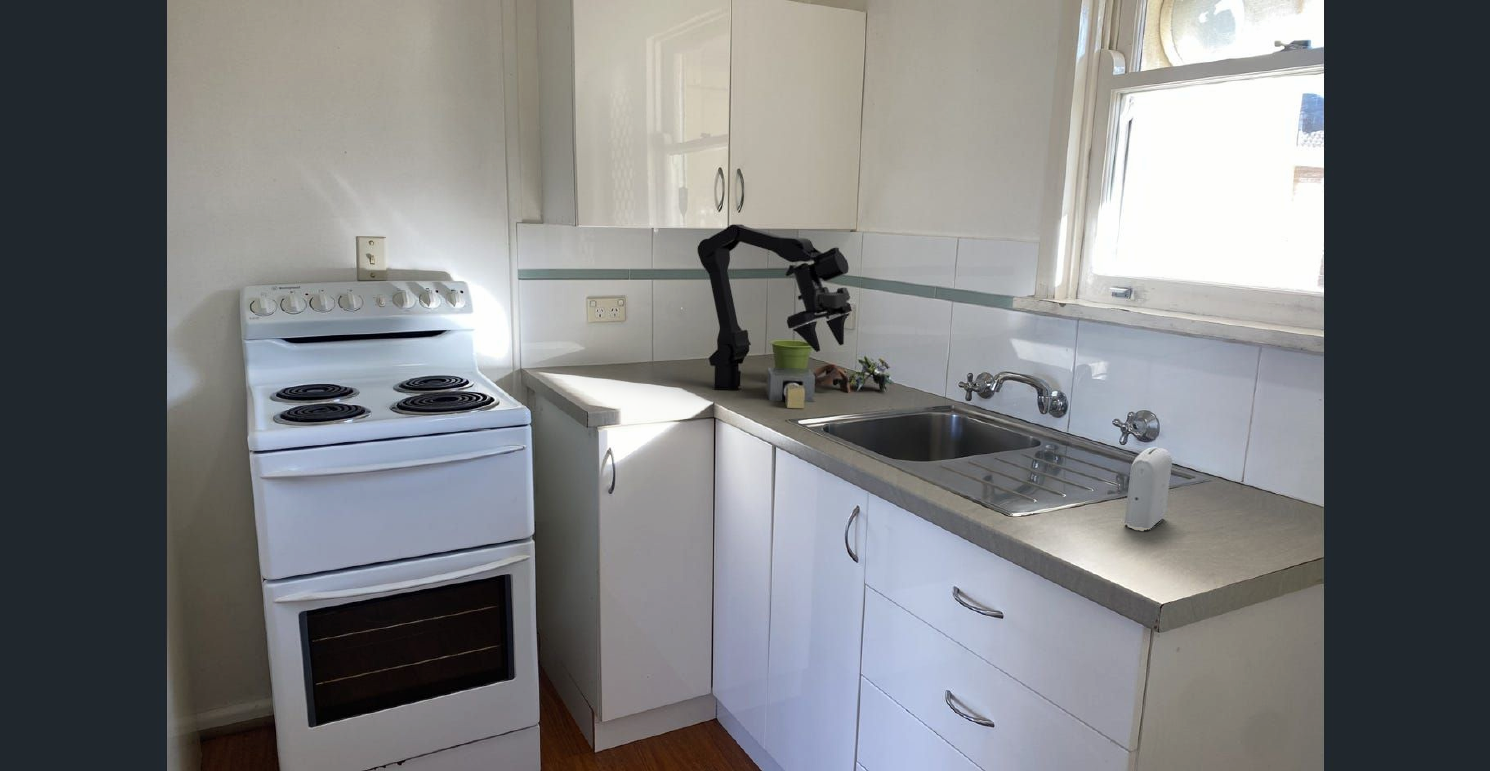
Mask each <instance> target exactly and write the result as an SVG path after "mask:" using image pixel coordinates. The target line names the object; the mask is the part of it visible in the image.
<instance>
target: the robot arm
mask: <svg viewBox="0 0 1490 771" xmlns="http://www.w3.org/2000/svg"><path fill="white" fill-rule="evenodd" d="M740 243H744V244H747V245H750V246H754V247H757V248H761V249H764V250H766V251H771V252H773V253H775V254H776V255H777V256H778V257H780V258H782V259H784V260H785V261H788V263H789V262H790V263H801V264H799V265H795V264H790V265H789V267H788V269H787V271H786V273H785V276H786V277H791V276H794V278H795V281H796V284H797V285H796V286H797V287H798V290H799V294H800V295H797V299H798V301H801V300H802V303H803V306H804V309H805V310H802V311H799V312H797V313H794V314H792V315H789V316H787V319H786V324H787V327H788V330H789V329H792V331H793V332H796V333H797V334H798V335H799V336H800V337H802V338H803V340H804V342H807V343H808V344H809V345H810V346H811V347H812V349H813V350H814V351H815V352H816V353H818V352H820V351H821V346H820V343H819V339H818V336H817V335H818V334H817V332H816V328H817V323H818V321H817V319H818V320H819V319H822V318H826V319H827V320H826V324H827V326H828V328H829V329H830V332H831V334H832V335H833V337H834V338H835V341H836V342H837V344H838V345H839V346H842V345H843V346H844V344H845V341H844V339H845V331H844V330H845V322H846V320H847V318H848V317H849V316H850V312H853V310H852V307H851V306H852V305H851V304H850V303H849V300H850V299H851V296H850V293H849V290H848V288H847V287H840V288H837V289H836V291H833V292H831V291H829V288H828V287H827V286H824V287H823V283H822V280H823V281H824V282H828V281H831V280H834V279H836V278H839V277H841V276H843V275H846V274H848V273H849V262H848V259H847V258H846V257H845V256H844V254H843V253H842V252H841V251H840V248H839V247H833V248H832V247H831V248H830V249H829V250H827V251H824V252H822V251H819V250H818V249H817V248H816V247H815V246H814V245H813V243H812V240H810V239H808V238H805V237H804V238H803V237H792V236H791V237H789V236H781V235H780V236H779V235H777V234H772V233H769V232H767V231H766V232H765V231H762V230H759V229H755V228H751V227H748V226H746V225H744V224H737V223H736V224H734V223H733V224H730V225H728V226H727V227H726V228H725V229H723V230H721V231H720V232H718V233H715V234H713V235H712V236H710V237H709V238H705V239H702V240H701V241H700V242H699V244H698V246H697V255H698V258H699V259H700V264H701V265H702V267H703V268H704V269H705V270H706V272H707V274H708V277H709V280H710V287H711V290H712V297H713V300H714V306H715V311H716V315H717V320H718V325H719V330H718V335H717V337H716V338H717V339H716V345H717V346H716V347H717V349H716V350H714V352H713V353H712V354H711V355H710V356H709V357H708V360H709V365H710V366H712V367H714V372H713V373H714V374H713V375H714V376H713V386H712V387H713V390H733V391H734V390H735V391H739V390H740V387H741V377H742V376H741V375H742V374H741V373H742V372H741V369H739V368H740V367H739V365H742V364H743V363H744V360H745V357H746V356H748V354H749V352H750V346H751V344H752V343H751V342H750V339H749V331H748V329H742V328H741V327H740V325H739V322H738V318H737V313H736V308H735V303H734V297H733V292H732V288H731V283H730V278H729V272H728V271H729V270H728V269H729V265H730V262H731V251H733V250H734V249H736V247H738V245H739V244H740ZM802 262H803V263H802ZM807 262H808V263H807ZM810 262H813V263H811V264H809V263H810Z"/></svg>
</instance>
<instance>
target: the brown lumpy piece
mask: <svg viewBox="0 0 1490 771" xmlns="http://www.w3.org/2000/svg"><path fill="white" fill-rule="evenodd" d="M812 373H813V374H814V376H815V389H814V391H816V388H822V387H825V386H829V385H830V386H834V387H836V386H837V385H839V390H847V393H848V394H850V393H851V387H850V386H851V385H850V383H849V377H848V376H847V373H846V372H845V373H844V370H843V369H841V368H839V367H838V365H837V364H835V363H829V364H825V365H822V366H820V367H819V368H818V369H816V370H815V371H814V372H812ZM823 373H825V375H823V376H821V375H822V374H823Z"/></svg>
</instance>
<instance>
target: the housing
mask: <svg viewBox="0 0 1490 771" xmlns="http://www.w3.org/2000/svg"><path fill="white" fill-rule="evenodd" d="M766 370H767V371H766V372H767V373H766V374H767V375H766V394H767V397H768V399H769V401H770V402H782V401H783V394H784V393H783V391H782V390H783V381H797V383H798V384H799V385H803V387H804V389H805V398H804V403H805V402H806V403H807V402H808V403H814V402H815V390H814V389H815V376H814V374H813V373H814V372H812V370H811V369H810V368H806V369H804V368H775V367H767V369H766Z"/></svg>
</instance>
